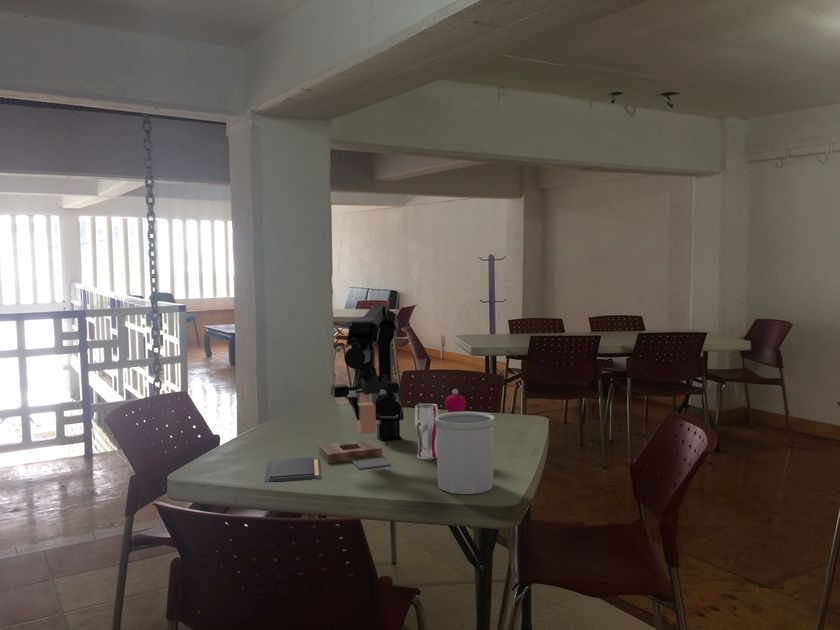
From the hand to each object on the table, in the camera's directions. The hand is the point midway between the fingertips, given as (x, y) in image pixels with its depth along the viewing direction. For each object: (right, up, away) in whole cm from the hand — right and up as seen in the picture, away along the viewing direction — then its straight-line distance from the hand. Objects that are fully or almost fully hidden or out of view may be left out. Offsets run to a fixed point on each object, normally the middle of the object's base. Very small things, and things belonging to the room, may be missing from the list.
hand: (366, 419), depth 196 cm
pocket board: (-5, -12, +9) cm, 16 cm away
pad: (+1, -12, 0) cm, 12 cm away
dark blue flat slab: (-19, -14, -5) cm, 24 cm away
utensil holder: (+27, -14, -22) cm, 37 cm away
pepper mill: (+26, -12, +3) cm, 28 cm away
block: (0, -4, 0) cm, 4 cm away
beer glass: (+17, -12, +6) cm, 22 cm away
